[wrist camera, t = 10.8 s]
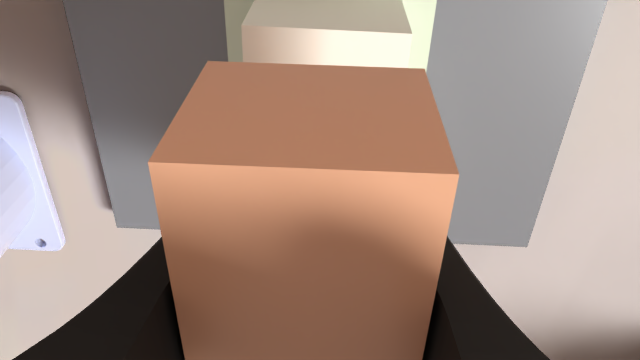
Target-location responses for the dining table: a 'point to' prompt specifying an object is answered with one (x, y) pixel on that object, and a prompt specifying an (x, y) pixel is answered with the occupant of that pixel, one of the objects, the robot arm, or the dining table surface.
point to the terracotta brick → (304, 211)
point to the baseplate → (426, 52)
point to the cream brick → (327, 33)
